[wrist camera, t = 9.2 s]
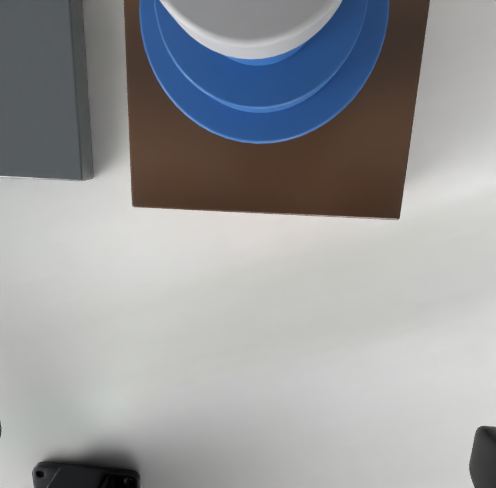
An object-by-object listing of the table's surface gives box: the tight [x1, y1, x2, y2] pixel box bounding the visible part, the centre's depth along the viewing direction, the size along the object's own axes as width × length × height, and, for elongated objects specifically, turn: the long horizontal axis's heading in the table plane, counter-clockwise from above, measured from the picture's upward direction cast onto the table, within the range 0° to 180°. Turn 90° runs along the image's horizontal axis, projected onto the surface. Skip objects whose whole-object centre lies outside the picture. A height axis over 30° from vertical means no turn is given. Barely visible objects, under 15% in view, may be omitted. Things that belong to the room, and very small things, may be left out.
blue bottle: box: [139, 0, 389, 144], centre depth 9 cm, size 5×5×9 cm
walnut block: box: [124, 0, 430, 220], centre depth 15 cm, size 10×10×4 cm
